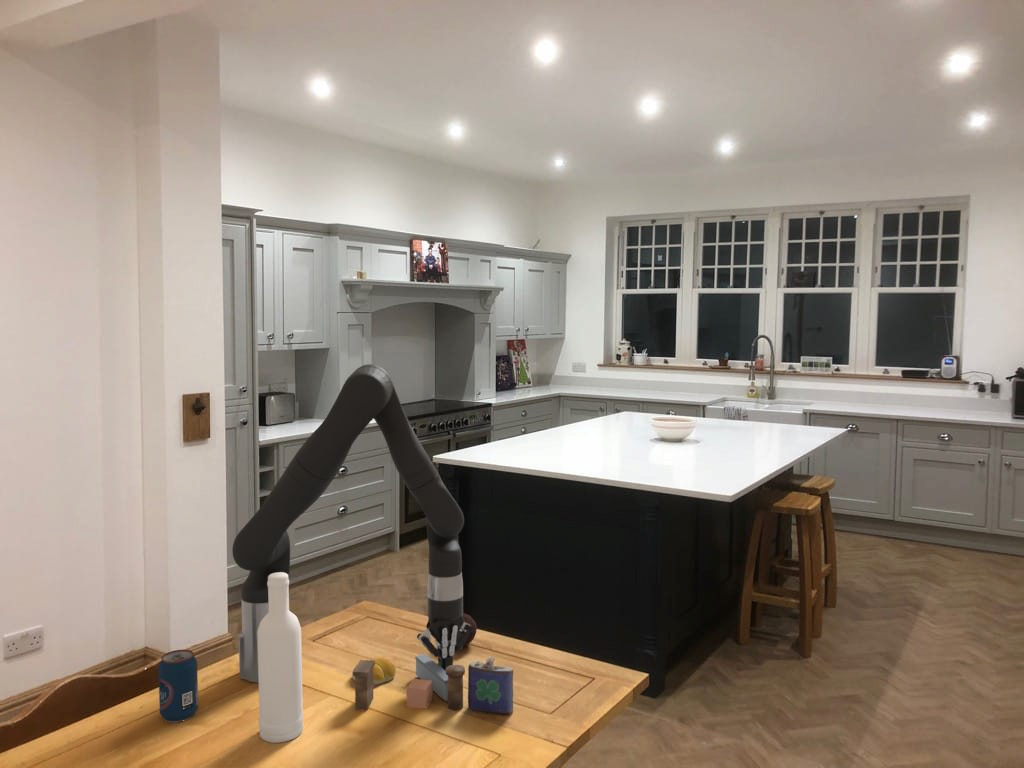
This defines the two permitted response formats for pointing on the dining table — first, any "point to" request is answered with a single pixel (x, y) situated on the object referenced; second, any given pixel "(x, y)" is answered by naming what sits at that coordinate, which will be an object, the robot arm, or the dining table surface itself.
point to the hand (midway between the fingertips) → (445, 672)
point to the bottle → (279, 666)
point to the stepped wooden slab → (363, 684)
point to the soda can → (178, 685)
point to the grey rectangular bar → (432, 675)
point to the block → (419, 693)
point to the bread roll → (381, 671)
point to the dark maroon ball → (471, 622)
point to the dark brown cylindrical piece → (455, 686)
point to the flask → (490, 688)
